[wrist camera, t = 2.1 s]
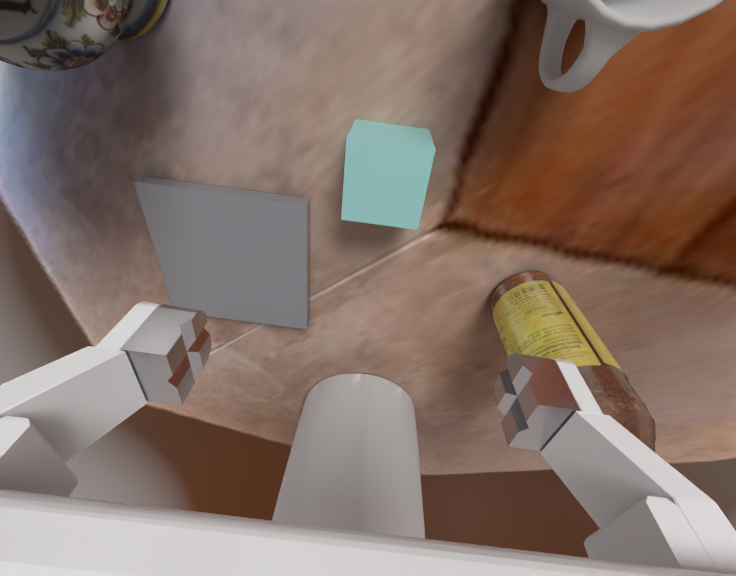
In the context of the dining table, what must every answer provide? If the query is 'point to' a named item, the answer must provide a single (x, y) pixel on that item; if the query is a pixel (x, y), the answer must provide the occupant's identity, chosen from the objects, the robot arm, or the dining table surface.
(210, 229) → the tile
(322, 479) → the utensil holder
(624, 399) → the sauce bottle
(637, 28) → the cup
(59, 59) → the apothecary jar
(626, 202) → the dining table surface
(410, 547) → the robot arm
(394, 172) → the cube
